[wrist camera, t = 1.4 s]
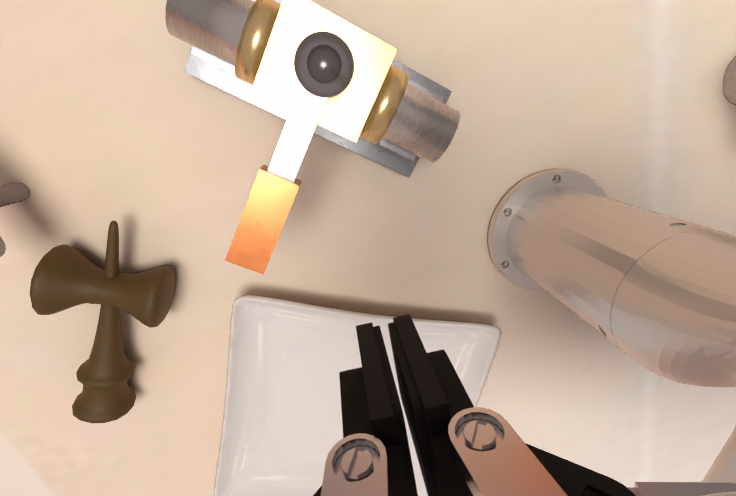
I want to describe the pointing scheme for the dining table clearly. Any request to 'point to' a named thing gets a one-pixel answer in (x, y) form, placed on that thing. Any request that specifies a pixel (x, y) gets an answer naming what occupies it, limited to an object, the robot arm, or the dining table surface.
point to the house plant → (730, 82)
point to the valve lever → (291, 148)
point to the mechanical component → (11, 200)
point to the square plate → (312, 389)
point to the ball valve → (280, 84)
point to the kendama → (102, 318)
